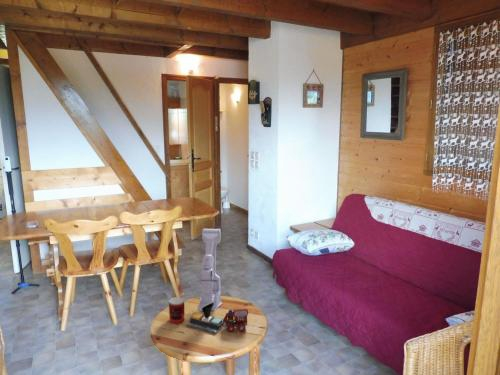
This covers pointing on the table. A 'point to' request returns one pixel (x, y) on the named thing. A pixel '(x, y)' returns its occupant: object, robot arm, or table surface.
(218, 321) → the teal button
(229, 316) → the toy fire truck
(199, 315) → the amber button
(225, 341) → the table surface
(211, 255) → the robot arm
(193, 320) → the button panel
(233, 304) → the table surface
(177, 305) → the canned food
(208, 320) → the cream button
